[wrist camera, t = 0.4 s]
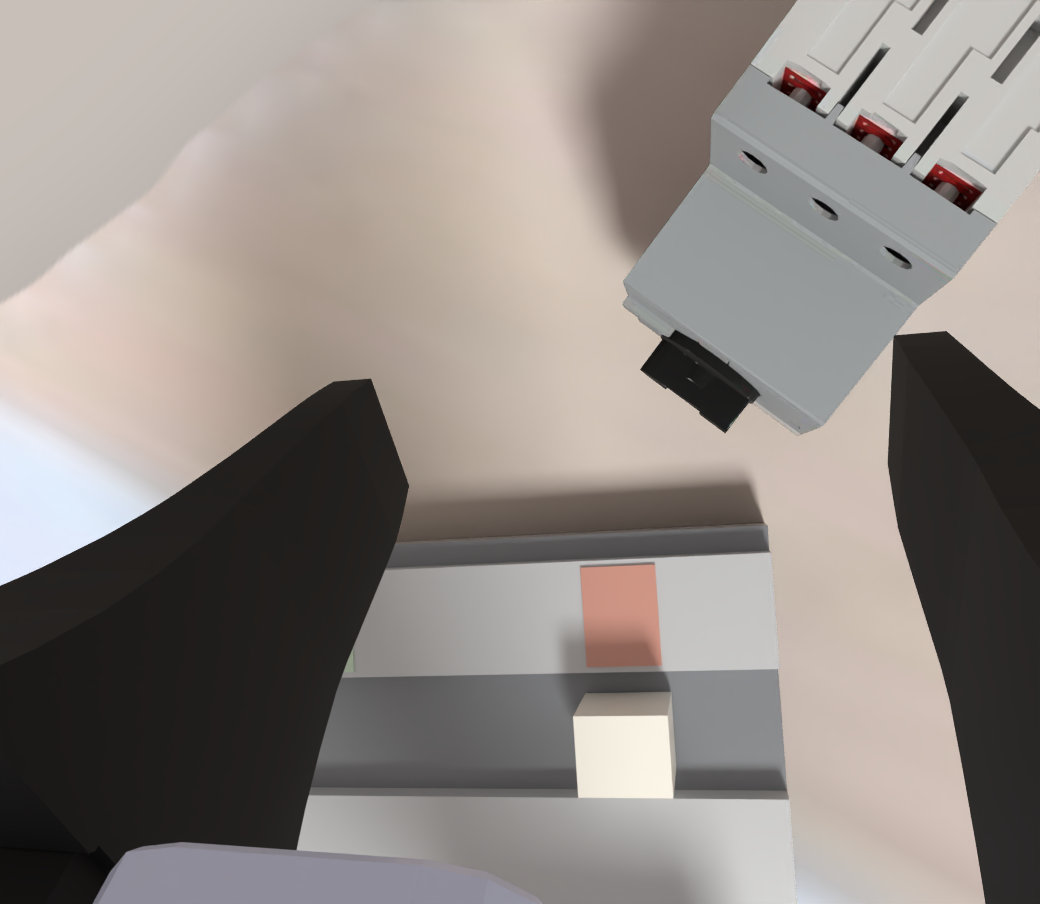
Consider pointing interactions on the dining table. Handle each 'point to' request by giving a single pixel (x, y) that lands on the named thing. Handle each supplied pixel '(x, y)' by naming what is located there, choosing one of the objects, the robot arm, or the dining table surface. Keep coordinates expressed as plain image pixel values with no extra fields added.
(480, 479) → the dining table surface
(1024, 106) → the circuit breaker
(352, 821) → the breaker panel
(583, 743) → the switch
